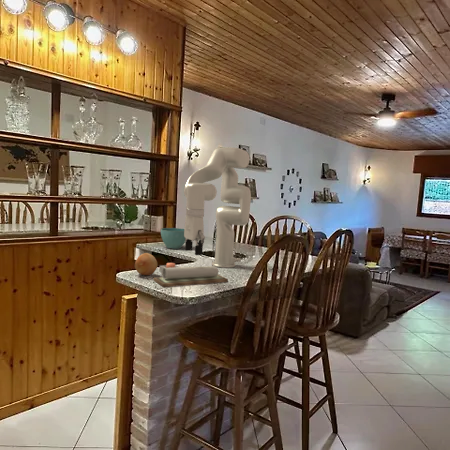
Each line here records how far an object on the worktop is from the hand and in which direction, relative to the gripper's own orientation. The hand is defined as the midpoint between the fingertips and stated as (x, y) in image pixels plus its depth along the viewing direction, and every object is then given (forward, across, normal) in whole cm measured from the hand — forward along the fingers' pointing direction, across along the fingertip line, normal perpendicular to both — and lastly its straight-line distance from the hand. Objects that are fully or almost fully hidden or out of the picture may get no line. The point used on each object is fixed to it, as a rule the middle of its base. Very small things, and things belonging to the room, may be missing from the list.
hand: (193, 252), depth 163 cm
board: (+12, +1, -1) cm, 12 cm away
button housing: (+13, -18, -3) cm, 22 cm away
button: (+12, -18, -3) cm, 21 cm away
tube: (+11, +1, -1) cm, 11 cm away
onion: (+12, -15, -16) cm, 25 cm away
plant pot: (+15, -83, +26) cm, 88 cm away
